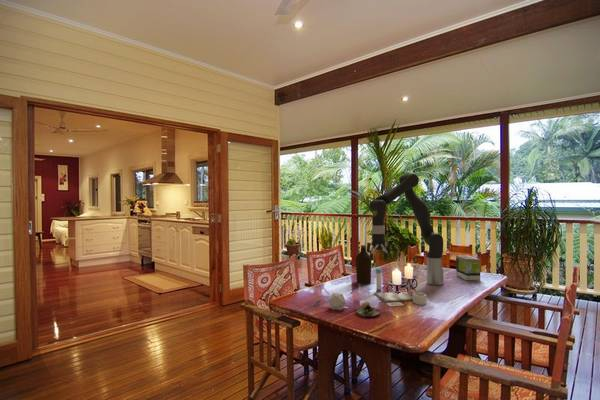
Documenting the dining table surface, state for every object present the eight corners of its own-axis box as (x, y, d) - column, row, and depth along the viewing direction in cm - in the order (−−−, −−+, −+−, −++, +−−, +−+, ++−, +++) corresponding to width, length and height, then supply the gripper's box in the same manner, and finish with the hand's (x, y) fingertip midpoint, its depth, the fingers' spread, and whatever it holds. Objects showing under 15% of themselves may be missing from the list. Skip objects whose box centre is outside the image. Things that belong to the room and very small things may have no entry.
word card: (386, 303, 176) (386, 302, 176) (400, 302, 177) (400, 301, 177) (390, 306, 171) (390, 306, 171) (404, 305, 172) (404, 304, 172)
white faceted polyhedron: (336, 314, 163) (347, 298, 164) (323, 303, 167) (334, 287, 167) (340, 314, 170) (350, 299, 171) (327, 304, 174) (337, 289, 175)
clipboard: (406, 292, 196) (406, 290, 196) (419, 300, 180) (419, 298, 180) (374, 294, 192) (374, 292, 192) (385, 302, 177) (385, 300, 177)
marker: (380, 290, 200) (380, 268, 200) (382, 291, 197) (382, 269, 197) (375, 290, 200) (375, 268, 200) (377, 292, 197) (377, 269, 196)
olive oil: (364, 285, 211) (364, 247, 211) (352, 282, 220) (351, 245, 219) (375, 282, 218) (374, 245, 218) (362, 279, 226) (362, 243, 226)
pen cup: (422, 300, 180) (421, 292, 180) (428, 304, 173) (428, 295, 173) (411, 301, 179) (410, 293, 179) (417, 305, 172) (416, 296, 172)
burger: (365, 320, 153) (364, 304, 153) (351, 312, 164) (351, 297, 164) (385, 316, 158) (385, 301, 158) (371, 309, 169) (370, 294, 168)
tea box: (481, 280, 218) (480, 258, 218) (466, 281, 219) (465, 259, 218) (469, 275, 234) (469, 254, 233) (455, 275, 234) (455, 255, 234)
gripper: (386, 231, 203) (387, 257, 203) (364, 232, 201) (365, 258, 201) (391, 233, 195) (392, 259, 196) (369, 233, 193) (369, 261, 193)
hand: (378, 259), depth 198 cm, fingers open, 8 cm apart
